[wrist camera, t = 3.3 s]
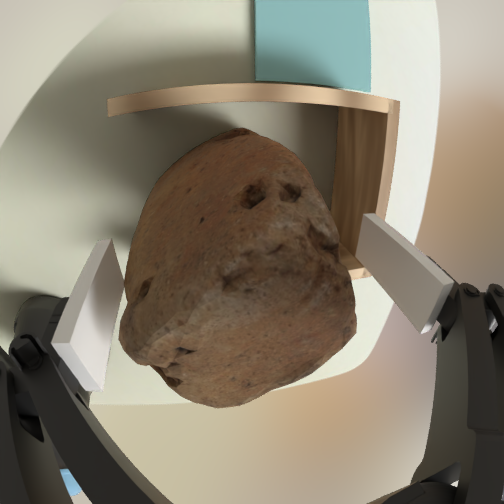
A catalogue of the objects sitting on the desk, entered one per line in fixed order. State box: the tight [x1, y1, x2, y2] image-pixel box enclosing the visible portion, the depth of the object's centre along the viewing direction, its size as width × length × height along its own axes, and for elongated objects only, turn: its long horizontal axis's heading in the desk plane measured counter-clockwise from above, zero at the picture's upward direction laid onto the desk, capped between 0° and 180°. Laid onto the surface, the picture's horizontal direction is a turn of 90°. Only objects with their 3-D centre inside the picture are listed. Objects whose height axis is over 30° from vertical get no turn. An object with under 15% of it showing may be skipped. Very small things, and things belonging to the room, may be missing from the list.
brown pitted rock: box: [119, 128, 357, 408], centre depth 17 cm, size 11×8×20 cm
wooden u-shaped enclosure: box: [107, 83, 400, 280], centre depth 22 cm, size 21×16×8 cm
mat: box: [254, 0, 371, 92], centre depth 19 cm, size 12×12×1 cm
